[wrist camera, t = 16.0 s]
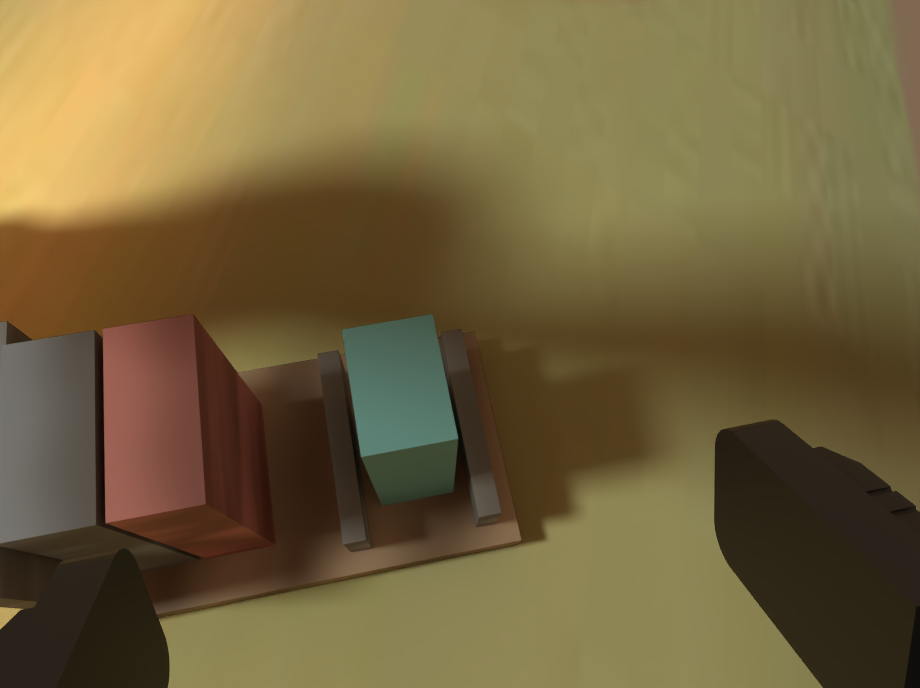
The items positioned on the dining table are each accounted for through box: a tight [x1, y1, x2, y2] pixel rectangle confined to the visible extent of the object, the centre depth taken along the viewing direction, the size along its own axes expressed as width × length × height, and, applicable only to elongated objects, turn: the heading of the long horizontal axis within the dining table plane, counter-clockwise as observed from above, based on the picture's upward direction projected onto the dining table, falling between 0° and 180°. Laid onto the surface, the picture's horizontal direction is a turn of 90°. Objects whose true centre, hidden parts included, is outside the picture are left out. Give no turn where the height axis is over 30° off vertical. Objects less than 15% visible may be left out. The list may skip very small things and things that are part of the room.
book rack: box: [0, 314, 521, 618], centre depth 31 cm, size 20×11×12 cm, turn 101°
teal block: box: [342, 314, 458, 506], centre depth 31 cm, size 4×5×10 cm
